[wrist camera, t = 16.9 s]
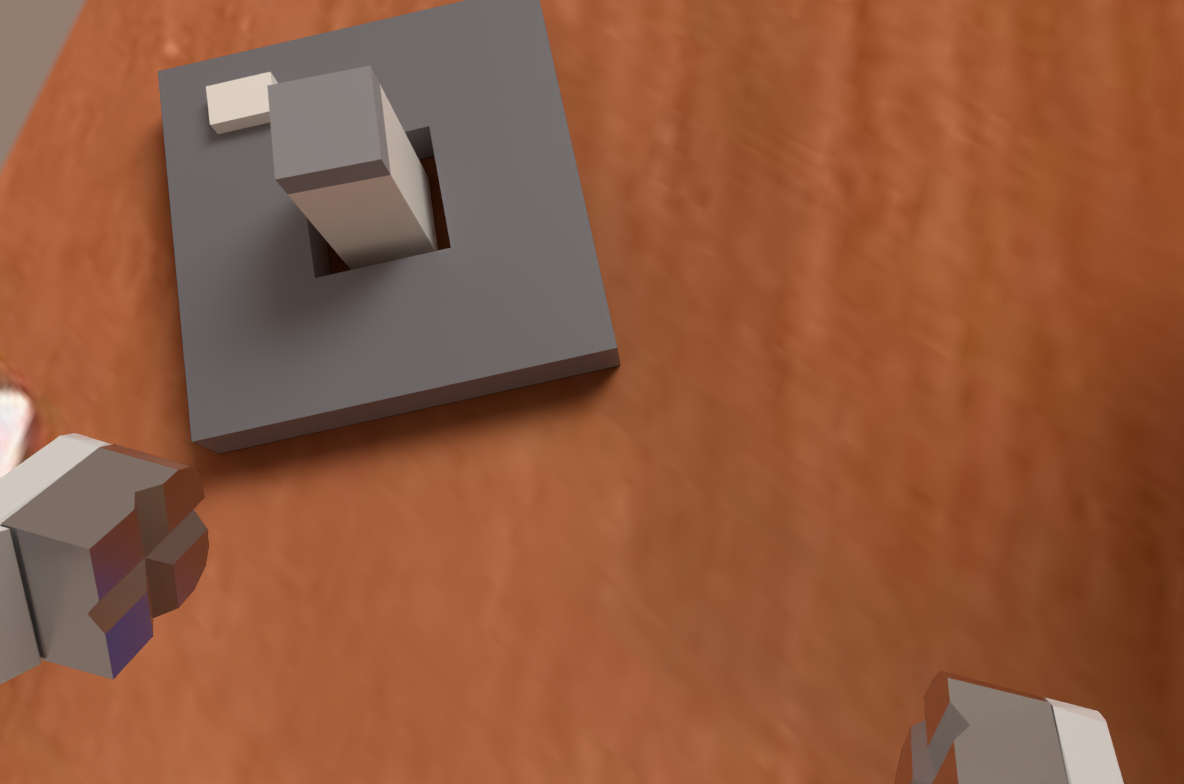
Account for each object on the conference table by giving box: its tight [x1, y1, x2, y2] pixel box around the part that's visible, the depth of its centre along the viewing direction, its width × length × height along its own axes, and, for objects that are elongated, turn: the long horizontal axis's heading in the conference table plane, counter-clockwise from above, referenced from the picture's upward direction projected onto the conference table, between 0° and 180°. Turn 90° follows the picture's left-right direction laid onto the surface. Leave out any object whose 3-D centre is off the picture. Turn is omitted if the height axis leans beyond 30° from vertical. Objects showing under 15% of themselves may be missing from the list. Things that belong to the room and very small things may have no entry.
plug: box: [267, 65, 438, 270], centre depth 40 cm, size 4×4×9 cm
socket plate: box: [158, 0, 620, 454], centre depth 43 cm, size 18×18×3 cm
